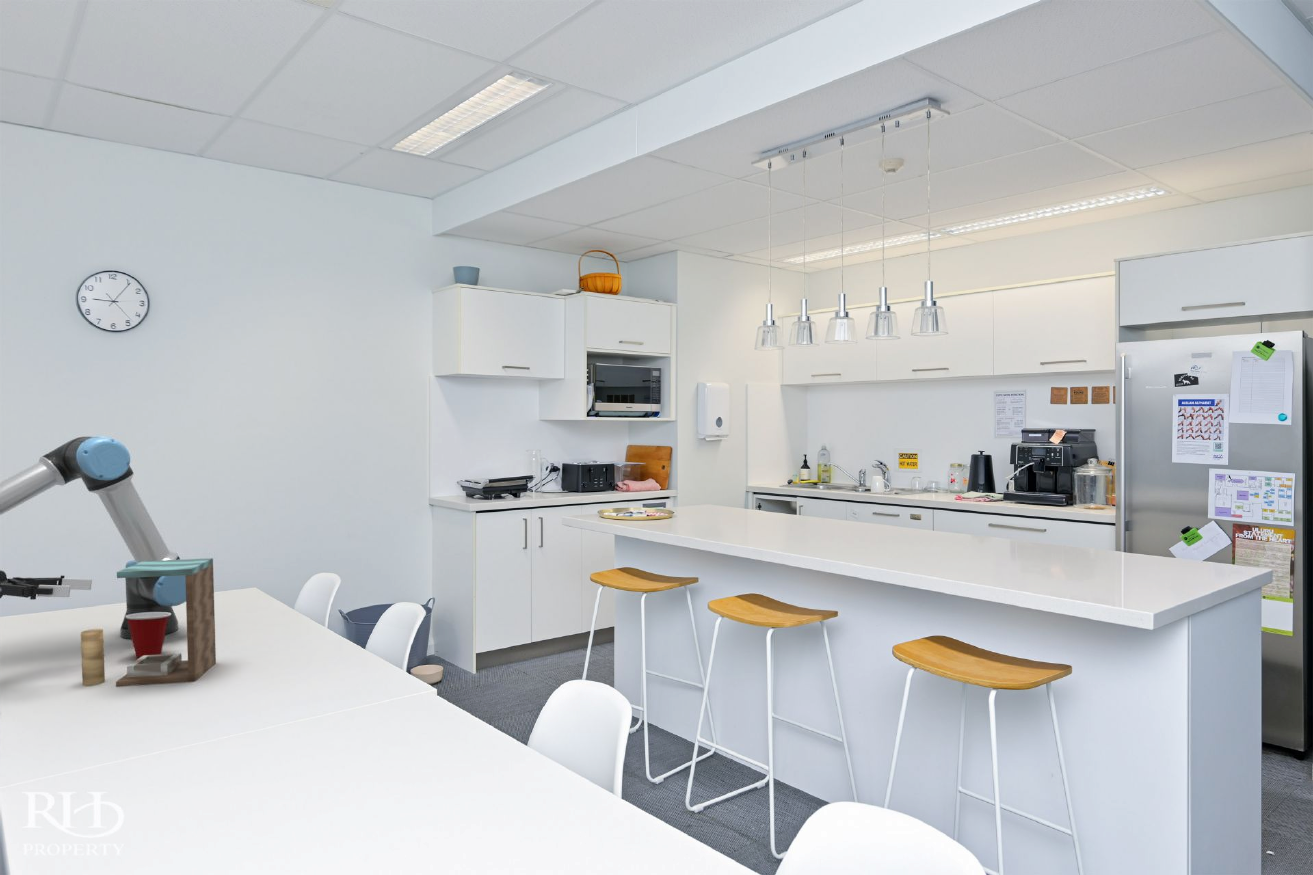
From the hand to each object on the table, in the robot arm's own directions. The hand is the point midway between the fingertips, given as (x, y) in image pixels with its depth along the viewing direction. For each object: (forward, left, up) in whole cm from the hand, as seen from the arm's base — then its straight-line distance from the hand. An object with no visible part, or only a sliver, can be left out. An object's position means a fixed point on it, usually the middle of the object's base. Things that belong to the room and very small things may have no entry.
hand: (80, 587), depth 207 cm
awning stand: (+2, +21, -23) cm, 31 cm away
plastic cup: (-15, +10, -23) cm, 29 cm away
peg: (+5, +5, -23) cm, 24 cm away
